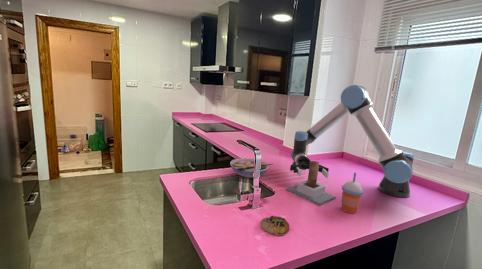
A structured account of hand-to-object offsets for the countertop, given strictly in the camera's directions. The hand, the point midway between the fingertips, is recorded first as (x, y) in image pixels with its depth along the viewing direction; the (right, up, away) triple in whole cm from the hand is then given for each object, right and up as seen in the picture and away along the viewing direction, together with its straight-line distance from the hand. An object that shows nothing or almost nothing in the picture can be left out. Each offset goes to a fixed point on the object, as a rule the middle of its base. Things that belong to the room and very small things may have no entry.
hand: (313, 174), depth 124 cm
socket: (-1, -11, +4) cm, 11 cm away
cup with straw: (+13, -15, -10) cm, 22 cm away
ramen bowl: (-32, -5, +24) cm, 40 cm away
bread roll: (-23, -16, -28) cm, 40 cm away
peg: (-1, -9, +4) cm, 10 cm away
